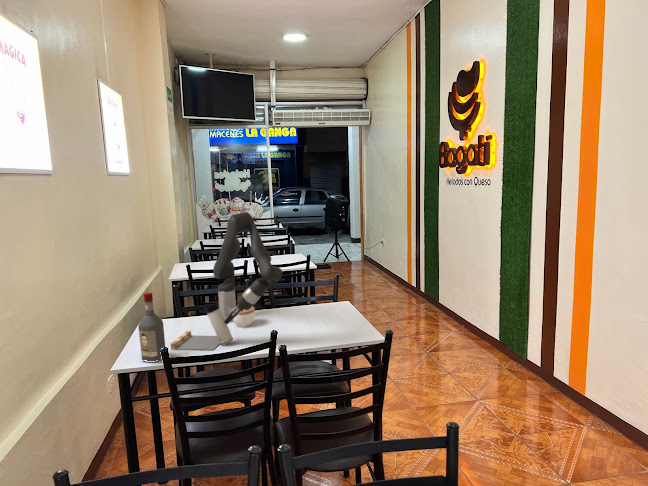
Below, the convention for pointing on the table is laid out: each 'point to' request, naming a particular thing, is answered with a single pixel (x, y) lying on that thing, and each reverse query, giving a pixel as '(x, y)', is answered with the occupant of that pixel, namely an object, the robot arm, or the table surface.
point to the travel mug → (219, 324)
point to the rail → (180, 340)
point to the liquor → (151, 332)
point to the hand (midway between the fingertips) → (226, 322)
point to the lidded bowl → (245, 317)
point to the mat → (200, 343)
